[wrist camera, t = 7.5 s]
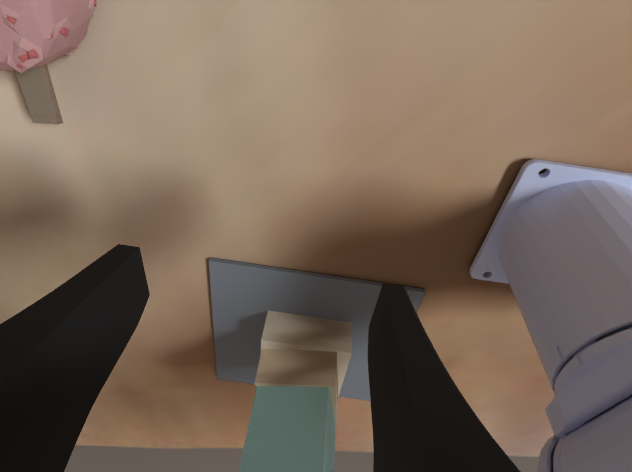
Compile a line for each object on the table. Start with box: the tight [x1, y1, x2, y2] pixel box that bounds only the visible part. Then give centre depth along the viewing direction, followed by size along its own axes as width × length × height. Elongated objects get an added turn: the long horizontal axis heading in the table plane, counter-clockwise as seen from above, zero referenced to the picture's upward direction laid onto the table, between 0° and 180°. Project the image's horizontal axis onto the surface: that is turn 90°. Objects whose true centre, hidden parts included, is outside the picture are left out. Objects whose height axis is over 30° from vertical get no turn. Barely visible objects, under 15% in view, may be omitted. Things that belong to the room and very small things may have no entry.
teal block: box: [239, 386, 336, 472], centre depth 24 cm, size 4×4×5 cm
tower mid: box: [255, 349, 338, 426], centre depth 27 cm, size 5×5×2 cm
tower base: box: [260, 310, 352, 397], centre depth 29 cm, size 6×6×2 cm
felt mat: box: [209, 258, 425, 401], centre depth 30 cm, size 14×14×1 cm
